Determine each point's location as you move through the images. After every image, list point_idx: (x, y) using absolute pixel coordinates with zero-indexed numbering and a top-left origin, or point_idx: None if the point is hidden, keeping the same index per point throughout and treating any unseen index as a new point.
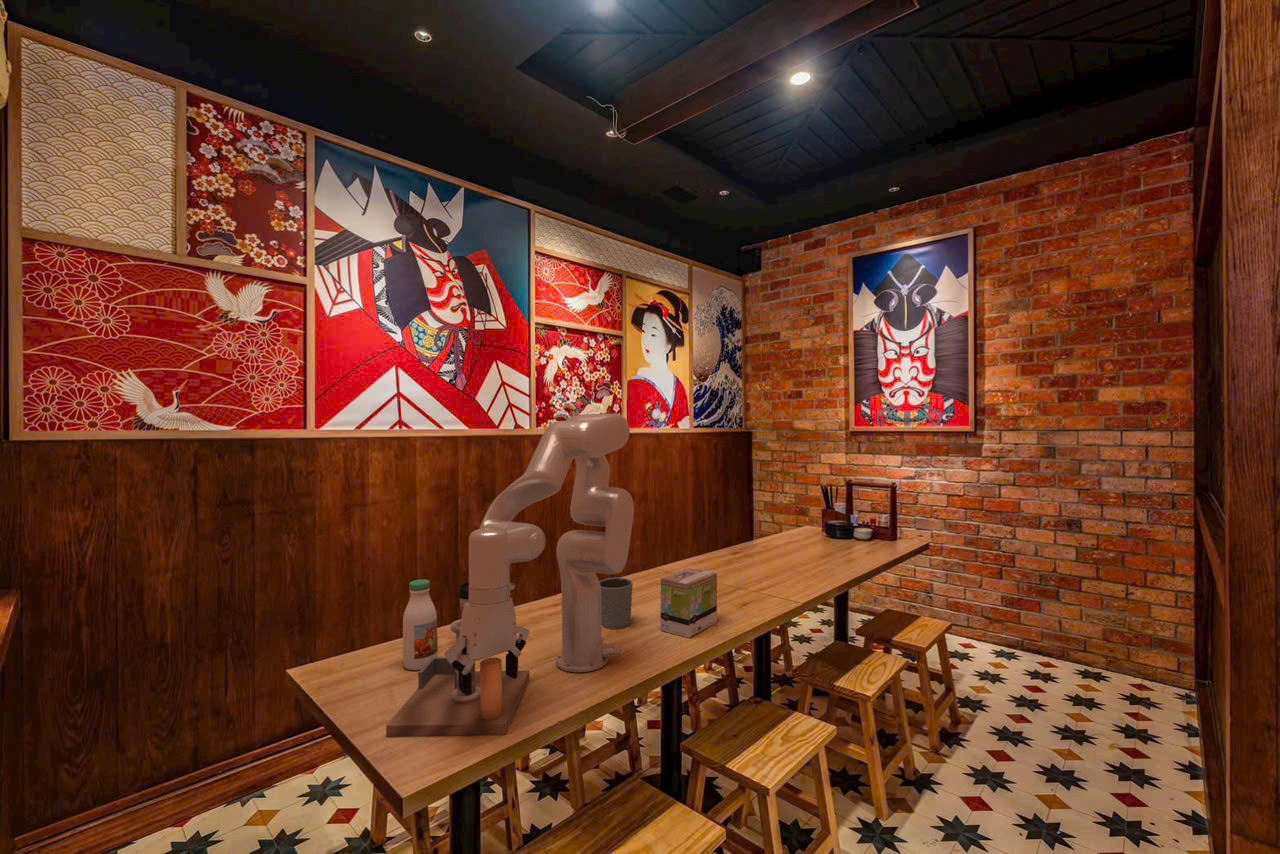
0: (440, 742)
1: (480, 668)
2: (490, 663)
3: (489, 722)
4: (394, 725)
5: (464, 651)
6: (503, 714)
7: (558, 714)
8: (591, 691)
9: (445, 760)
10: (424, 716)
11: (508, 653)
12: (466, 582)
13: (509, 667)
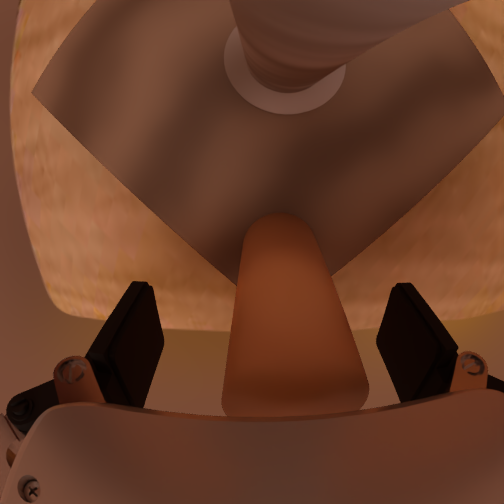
0: (130, 210)
1: (225, 374)
2: (279, 416)
3: None
4: (42, 102)
5: (79, 422)
6: None
7: None
8: (500, 280)
9: (121, 285)
10: (108, 99)
11: (441, 377)
12: None
13: (400, 341)
